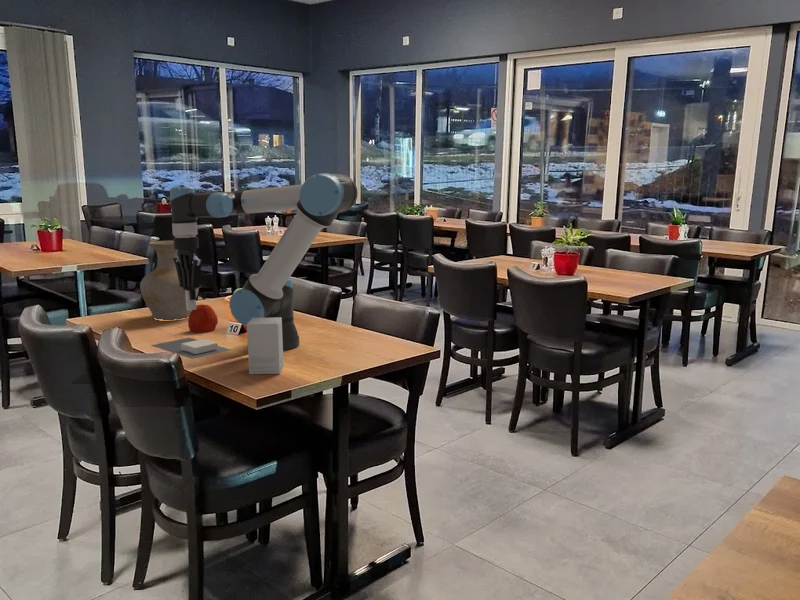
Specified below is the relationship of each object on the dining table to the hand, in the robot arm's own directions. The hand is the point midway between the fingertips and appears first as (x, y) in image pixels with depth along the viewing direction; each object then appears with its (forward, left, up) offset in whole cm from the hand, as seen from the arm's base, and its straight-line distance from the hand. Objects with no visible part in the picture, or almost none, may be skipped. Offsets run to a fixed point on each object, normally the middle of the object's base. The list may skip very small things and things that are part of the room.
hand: (191, 309), depth 214 cm
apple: (+18, -15, -14) cm, 27 cm away
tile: (-2, +2, -11) cm, 11 cm away
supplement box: (-36, -1, -14) cm, 38 cm away
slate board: (-1, +2, -13) cm, 13 cm away
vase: (+49, -21, -14) cm, 55 cm away
